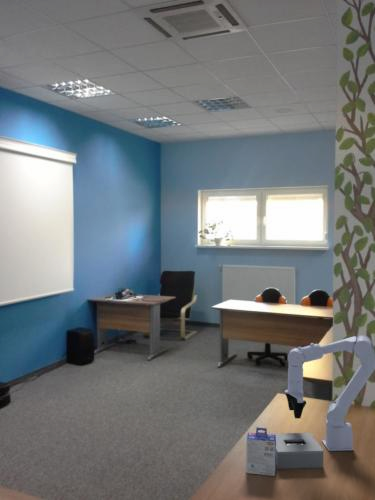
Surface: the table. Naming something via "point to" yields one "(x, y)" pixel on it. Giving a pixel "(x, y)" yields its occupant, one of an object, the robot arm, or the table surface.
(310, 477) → the table surface
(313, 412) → the table surface
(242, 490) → the table surface
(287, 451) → the ballot box
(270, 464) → the ink cartridge box
